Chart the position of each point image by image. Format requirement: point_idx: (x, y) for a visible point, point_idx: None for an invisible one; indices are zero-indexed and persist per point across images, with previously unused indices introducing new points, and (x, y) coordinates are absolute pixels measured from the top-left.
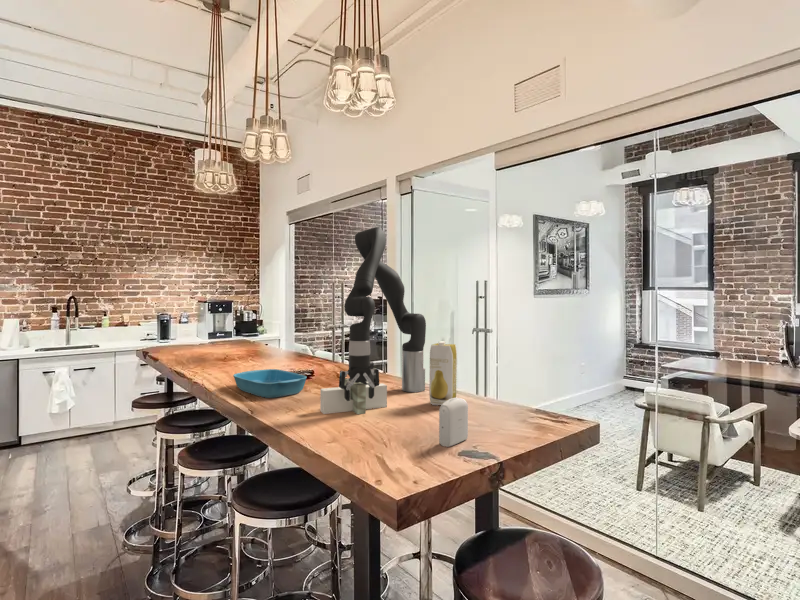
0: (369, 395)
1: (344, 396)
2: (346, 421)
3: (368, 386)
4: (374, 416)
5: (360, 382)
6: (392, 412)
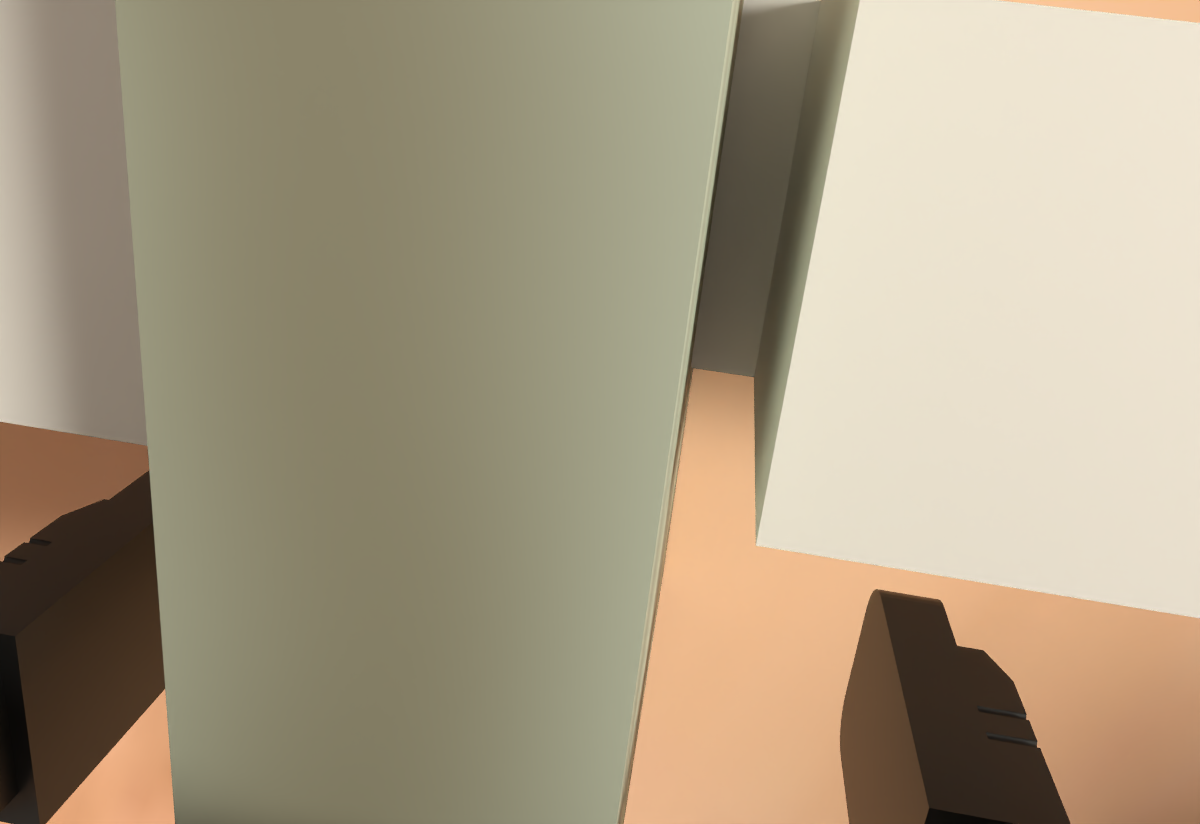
0: (868, 683)
1: (47, 535)
2: (170, 778)
3: (1161, 499)
4: (700, 806)
5: (596, 753)
6: (1165, 792)
